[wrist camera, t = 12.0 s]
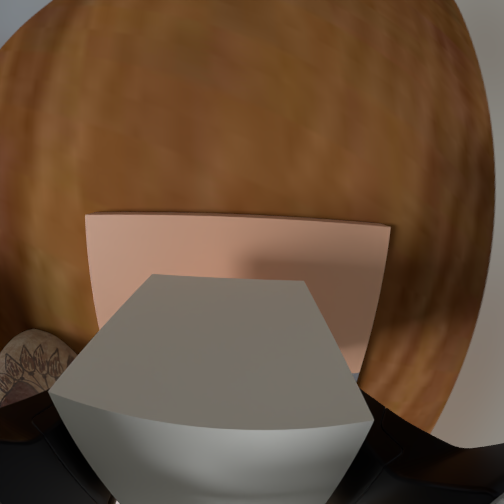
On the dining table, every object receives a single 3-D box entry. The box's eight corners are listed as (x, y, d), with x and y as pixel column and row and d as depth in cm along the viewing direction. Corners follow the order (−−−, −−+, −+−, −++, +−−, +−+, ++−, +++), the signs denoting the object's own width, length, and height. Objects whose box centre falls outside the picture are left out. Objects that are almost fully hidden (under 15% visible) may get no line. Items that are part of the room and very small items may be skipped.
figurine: (87, 418, 16) (30, 529, 4) (20, 369, 15) (-54, 455, 3) (102, 366, 14) (13, 514, 3) (22, 306, 14) (-92, 401, 2)
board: (326, 442, 16) (328, 452, 15) (138, 433, 16) (134, 442, 15) (381, 223, 12) (390, 227, 11) (95, 212, 12) (85, 215, 11)
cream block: (288, 394, 10) (309, 524, 4) (165, 387, 10) (125, 510, 4) (303, 280, 9) (374, 420, 3) (152, 274, 9) (47, 391, 3)
